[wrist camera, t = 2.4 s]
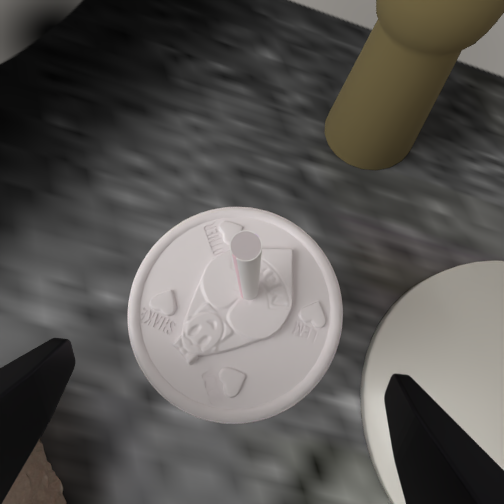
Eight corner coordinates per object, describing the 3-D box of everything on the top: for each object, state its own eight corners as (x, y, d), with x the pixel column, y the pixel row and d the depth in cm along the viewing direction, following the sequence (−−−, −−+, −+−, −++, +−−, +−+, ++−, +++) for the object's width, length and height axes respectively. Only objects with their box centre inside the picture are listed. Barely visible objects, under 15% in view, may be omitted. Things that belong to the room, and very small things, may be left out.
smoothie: (323, 330, 19) (497, 273, 5) (241, 416, 18) (201, 619, 4) (246, 252, 20) (232, 53, 7) (164, 326, 19) (-51, 261, 6)
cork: (348, 182, 22) (438, 18, 11) (310, 110, 23) (357, -92, 13) (429, 153, 22) (589, -28, 12) (387, 84, 24) (493, -128, 13)
